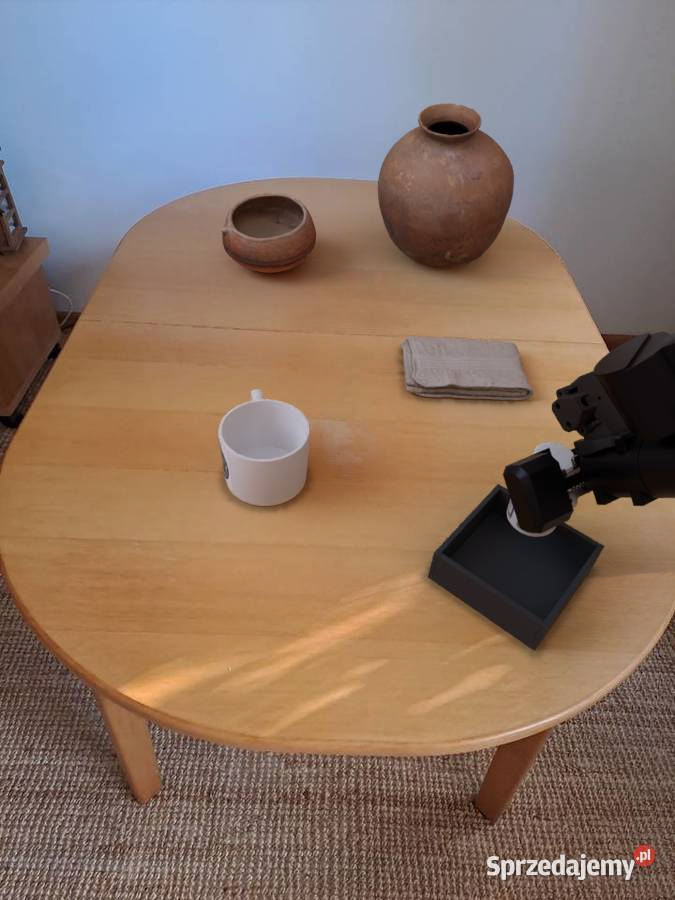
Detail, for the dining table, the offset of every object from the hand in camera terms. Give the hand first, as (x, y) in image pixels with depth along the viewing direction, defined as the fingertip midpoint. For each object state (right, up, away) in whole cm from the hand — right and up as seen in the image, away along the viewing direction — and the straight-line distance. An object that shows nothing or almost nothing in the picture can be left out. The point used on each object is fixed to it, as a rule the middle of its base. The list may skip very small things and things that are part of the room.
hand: (537, 468), depth 68 cm
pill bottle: (0, -6, +4) cm, 7 cm away
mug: (-30, 0, +15) cm, 33 cm away
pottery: (-3, +38, +54) cm, 66 cm away
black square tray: (-1, -12, +6) cm, 13 cm away
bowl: (-32, +35, +50) cm, 69 cm away
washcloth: (-2, +13, +30) cm, 33 cm away
